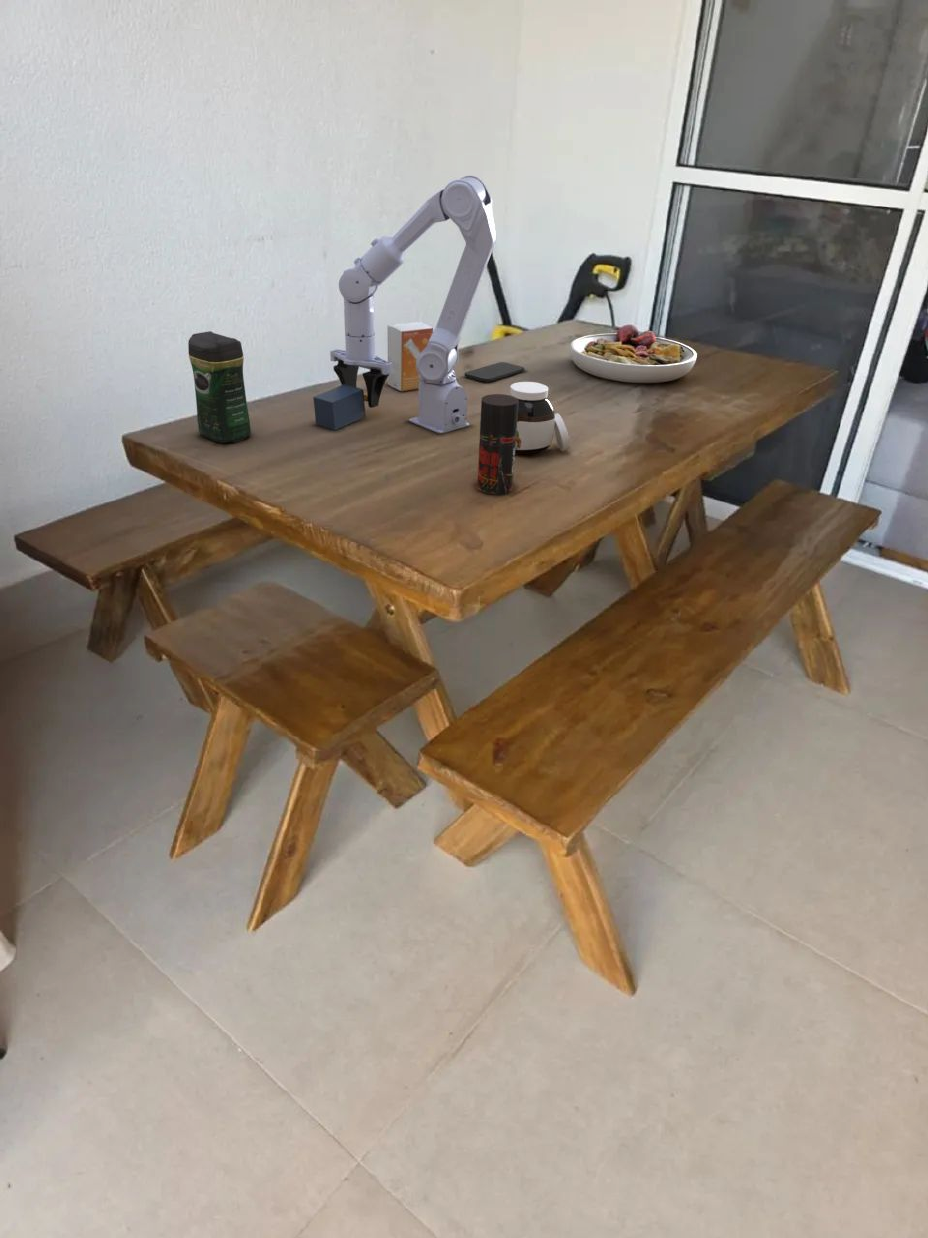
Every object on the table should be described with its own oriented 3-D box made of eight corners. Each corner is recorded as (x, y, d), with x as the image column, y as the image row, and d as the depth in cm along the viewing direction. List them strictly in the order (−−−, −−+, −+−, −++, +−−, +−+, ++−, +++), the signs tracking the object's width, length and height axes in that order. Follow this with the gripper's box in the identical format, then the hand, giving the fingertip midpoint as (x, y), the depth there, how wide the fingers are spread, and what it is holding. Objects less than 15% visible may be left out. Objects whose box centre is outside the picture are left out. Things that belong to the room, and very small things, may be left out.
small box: (401, 392, 186) (401, 330, 179) (387, 384, 190) (386, 324, 183) (432, 387, 190) (434, 327, 183) (418, 379, 194) (418, 320, 187)
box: (355, 406, 174) (353, 379, 170) (375, 412, 171) (373, 385, 168) (315, 424, 166) (312, 396, 163) (335, 430, 163) (333, 402, 160)
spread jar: (491, 444, 160) (495, 383, 154) (536, 433, 166) (541, 374, 160) (533, 465, 152) (539, 400, 146) (579, 452, 158) (586, 390, 152)
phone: (526, 367, 203) (487, 379, 193) (526, 371, 203) (487, 383, 193) (501, 361, 207) (462, 372, 197) (501, 364, 207) (462, 376, 197)
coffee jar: (258, 437, 159) (249, 335, 149) (223, 447, 154) (211, 343, 144) (227, 424, 165) (216, 325, 155) (192, 434, 159) (178, 332, 150)
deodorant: (475, 480, 145) (479, 393, 138) (510, 480, 146) (516, 394, 138) (479, 494, 140) (483, 405, 133) (514, 494, 141) (521, 405, 133)
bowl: (705, 390, 195) (712, 355, 191) (575, 384, 195) (578, 349, 191) (679, 355, 221) (684, 324, 217) (563, 350, 221) (566, 319, 217)
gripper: (317, 330, 164) (321, 400, 172) (374, 344, 157) (376, 415, 165) (343, 324, 169) (345, 392, 177) (399, 337, 162) (399, 407, 169)
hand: (362, 403), depth 171 cm, fingers closed on box, 5 cm apart
